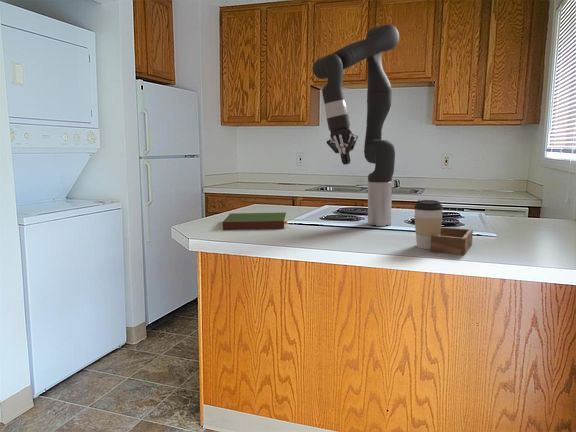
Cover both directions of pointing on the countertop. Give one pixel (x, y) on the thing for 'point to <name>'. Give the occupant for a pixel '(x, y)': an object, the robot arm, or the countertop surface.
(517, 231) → the countertop surface
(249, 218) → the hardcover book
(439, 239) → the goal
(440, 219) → the coffee cup
